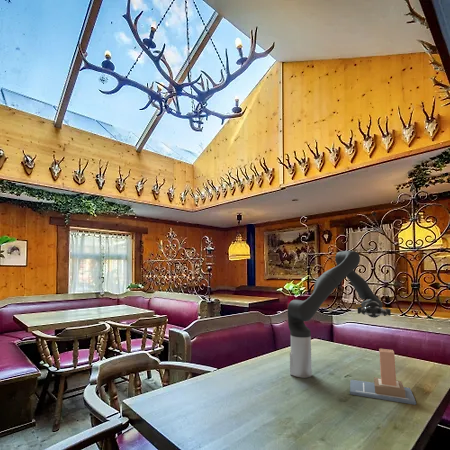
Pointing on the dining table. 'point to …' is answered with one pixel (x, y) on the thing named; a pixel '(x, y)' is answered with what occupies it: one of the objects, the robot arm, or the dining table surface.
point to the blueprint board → (371, 390)
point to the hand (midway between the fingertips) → (374, 313)
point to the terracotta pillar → (387, 367)
